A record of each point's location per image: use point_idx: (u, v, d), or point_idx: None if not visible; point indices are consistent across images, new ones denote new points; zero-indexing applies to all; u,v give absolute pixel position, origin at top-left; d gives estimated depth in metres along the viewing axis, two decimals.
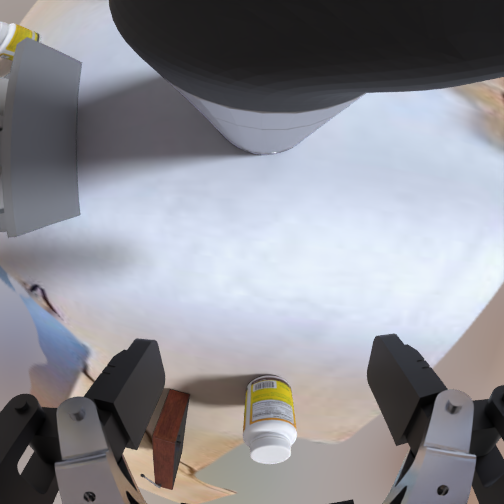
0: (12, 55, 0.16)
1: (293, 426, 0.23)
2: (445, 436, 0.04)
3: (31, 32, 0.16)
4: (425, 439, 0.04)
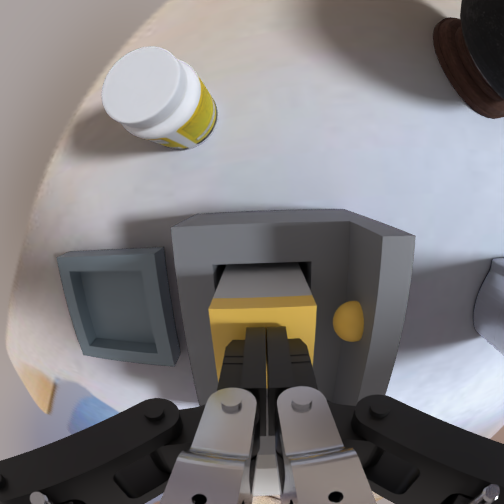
0: (176, 141, 0.15)
1: None
2: (306, 439, 0.05)
3: (208, 92, 0.15)
4: (284, 448, 0.04)
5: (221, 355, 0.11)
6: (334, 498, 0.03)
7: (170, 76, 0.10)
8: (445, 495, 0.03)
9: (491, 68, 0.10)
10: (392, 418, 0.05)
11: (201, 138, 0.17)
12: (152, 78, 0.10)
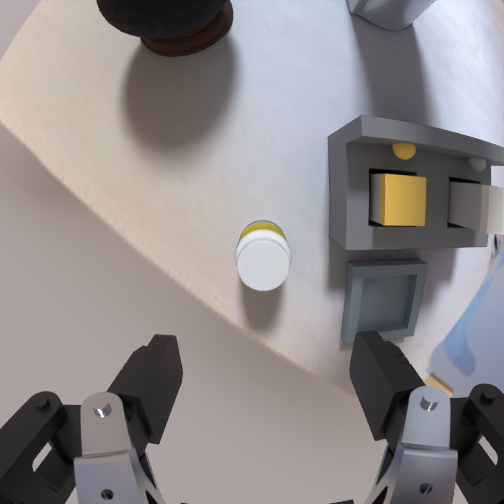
0: None
1: None
2: (423, 433, 0.04)
3: (251, 226, 0.26)
4: (402, 438, 0.04)
5: (406, 222, 0.20)
6: (422, 492, 0.03)
7: (263, 246, 0.20)
8: None
9: (205, 19, 0.18)
10: (495, 405, 0.04)
11: (281, 231, 0.27)
12: (263, 257, 0.21)
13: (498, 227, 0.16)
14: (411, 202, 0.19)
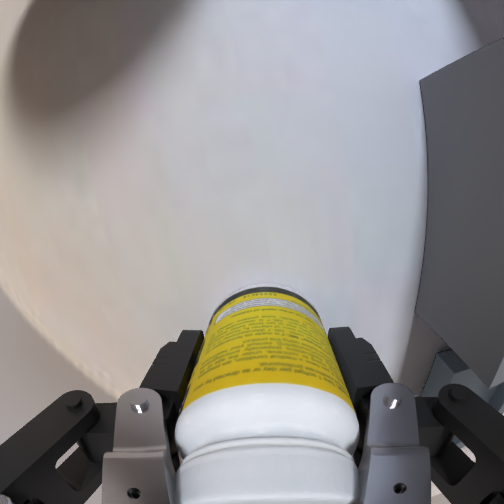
0: None
1: None
2: (389, 432, 0.04)
3: (232, 316, 0.08)
4: (368, 438, 0.04)
5: None
6: (397, 491, 0.03)
7: None
8: (488, 492, 0.02)
9: None
10: (466, 405, 0.04)
11: (318, 319, 0.09)
12: None
13: None
14: None
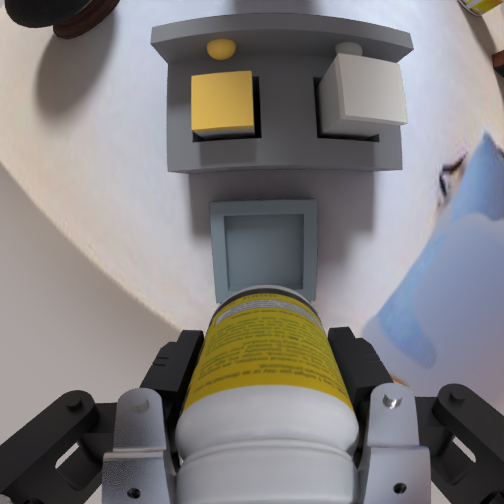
0: None
1: None
2: (389, 432, 0.04)
3: (232, 317, 0.09)
4: (367, 438, 0.04)
5: (224, 122, 0.16)
6: (396, 491, 0.03)
7: None
8: (488, 492, 0.02)
9: (78, 1, 0.14)
10: (466, 405, 0.04)
11: (318, 320, 0.09)
12: None
13: (373, 108, 0.13)
14: (229, 99, 0.16)
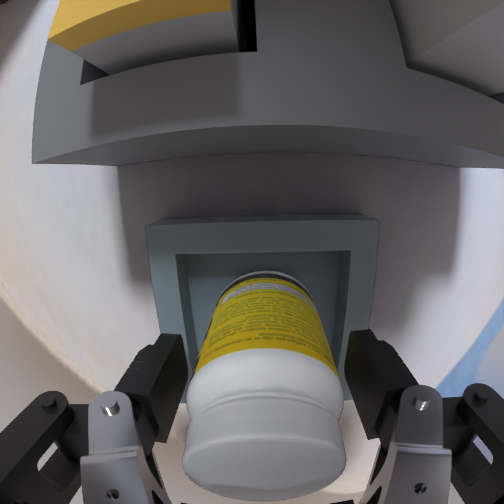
0: None
1: None
2: (415, 433, 0.04)
3: (237, 297, 0.10)
4: (394, 437, 0.04)
5: None
6: (416, 492, 0.03)
7: (267, 447, 0.04)
8: (501, 493, 0.02)
9: None
10: (489, 405, 0.04)
11: (312, 302, 0.11)
12: (263, 465, 0.05)
13: None
14: None
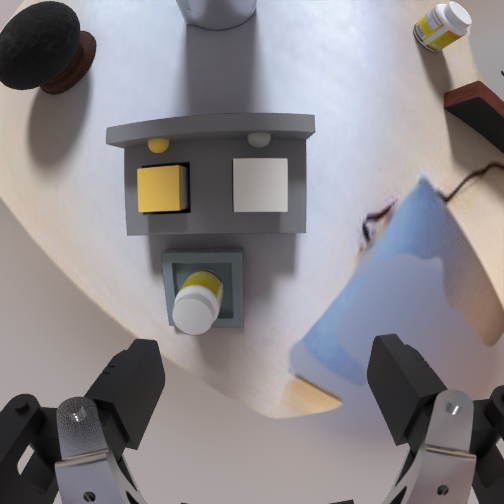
0: (220, 295, 0.30)
1: None
2: (445, 436, 0.04)
3: (192, 276, 0.31)
4: (425, 439, 0.04)
5: (159, 207, 0.24)
6: (438, 494, 0.02)
7: (191, 302, 0.25)
8: None
9: (55, 70, 0.21)
10: None
11: (218, 280, 0.32)
12: (191, 310, 0.25)
13: (257, 204, 0.20)
14: (162, 190, 0.23)
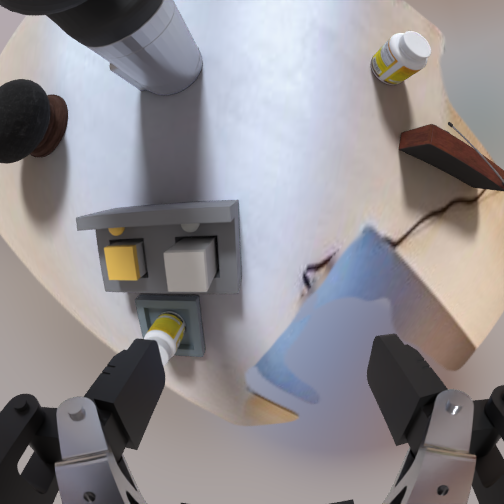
0: (179, 335, 0.36)
1: (395, 34, 0.22)
2: (445, 436, 0.04)
3: (158, 319, 0.37)
4: (425, 439, 0.04)
5: (123, 277, 0.30)
6: (438, 494, 0.02)
7: None
8: None
9: (33, 146, 0.28)
10: None
11: (179, 321, 0.38)
12: None
13: (184, 286, 0.27)
14: (123, 265, 0.30)
